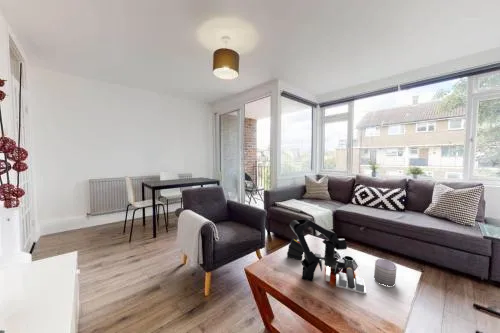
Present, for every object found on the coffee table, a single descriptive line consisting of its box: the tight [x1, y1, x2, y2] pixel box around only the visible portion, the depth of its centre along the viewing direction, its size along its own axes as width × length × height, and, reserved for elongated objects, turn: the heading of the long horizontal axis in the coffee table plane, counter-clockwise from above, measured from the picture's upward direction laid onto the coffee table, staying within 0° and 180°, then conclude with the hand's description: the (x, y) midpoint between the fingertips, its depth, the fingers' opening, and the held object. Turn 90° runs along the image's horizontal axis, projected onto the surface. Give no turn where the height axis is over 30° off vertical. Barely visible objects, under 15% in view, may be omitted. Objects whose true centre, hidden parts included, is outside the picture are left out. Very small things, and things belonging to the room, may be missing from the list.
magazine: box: [286, 237, 304, 261], centre depth 152 cm, size 4×13×15 cm, turn 73°
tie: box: [324, 266, 331, 282], centre depth 132 cm, size 12×2×4 cm, turn 157°
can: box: [373, 258, 398, 286], centre depth 128 cm, size 11×11×12 cm
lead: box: [346, 267, 355, 289], centre depth 126 cm, size 17×4×4 cm, turn 157°
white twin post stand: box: [335, 271, 368, 295], centre depth 124 cm, size 16×12×5 cm
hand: (328, 272), depth 132 cm, fingers open, 8 cm apart
